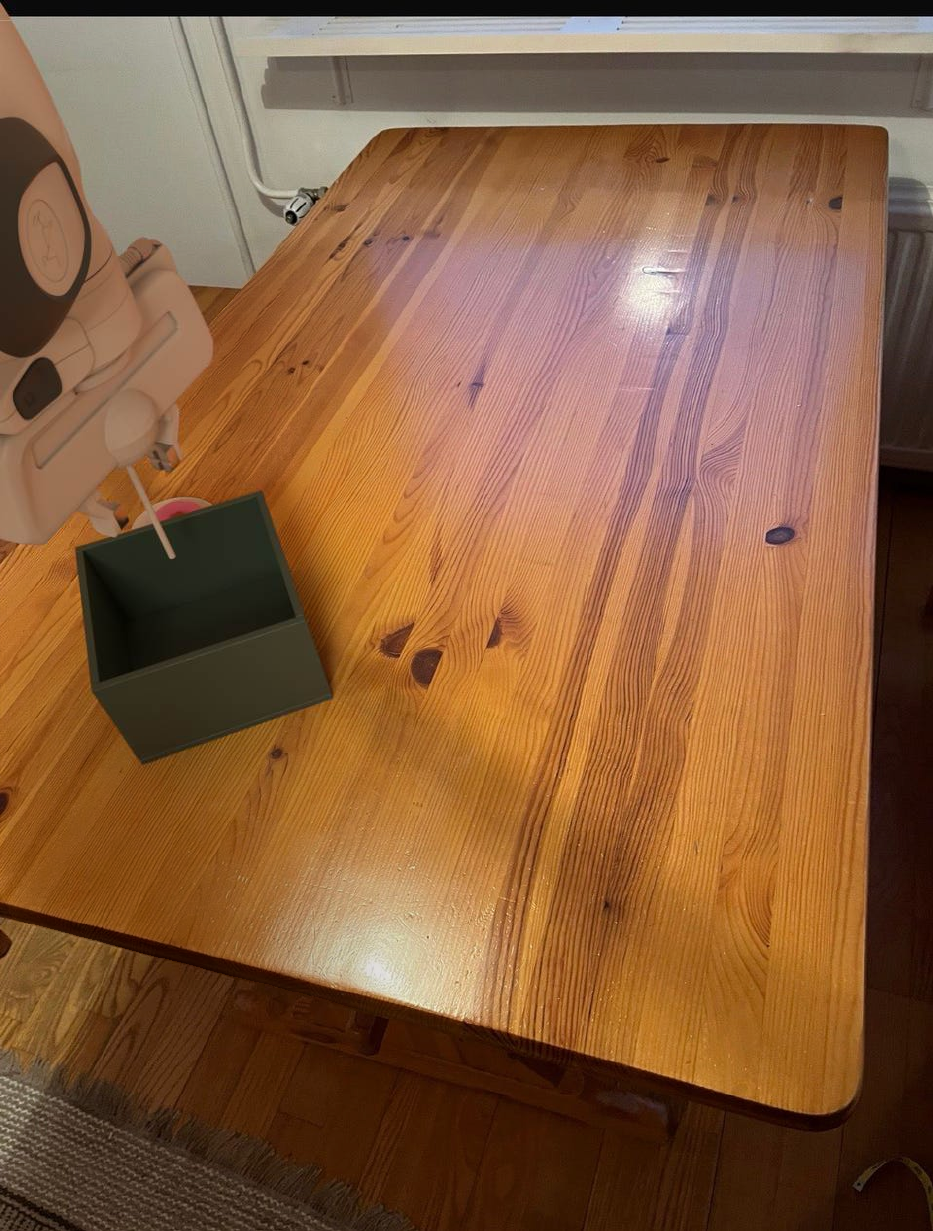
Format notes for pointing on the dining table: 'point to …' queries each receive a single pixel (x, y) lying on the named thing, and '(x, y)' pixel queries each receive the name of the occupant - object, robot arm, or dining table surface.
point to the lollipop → (134, 441)
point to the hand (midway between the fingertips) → (142, 496)
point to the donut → (171, 509)
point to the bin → (196, 628)
